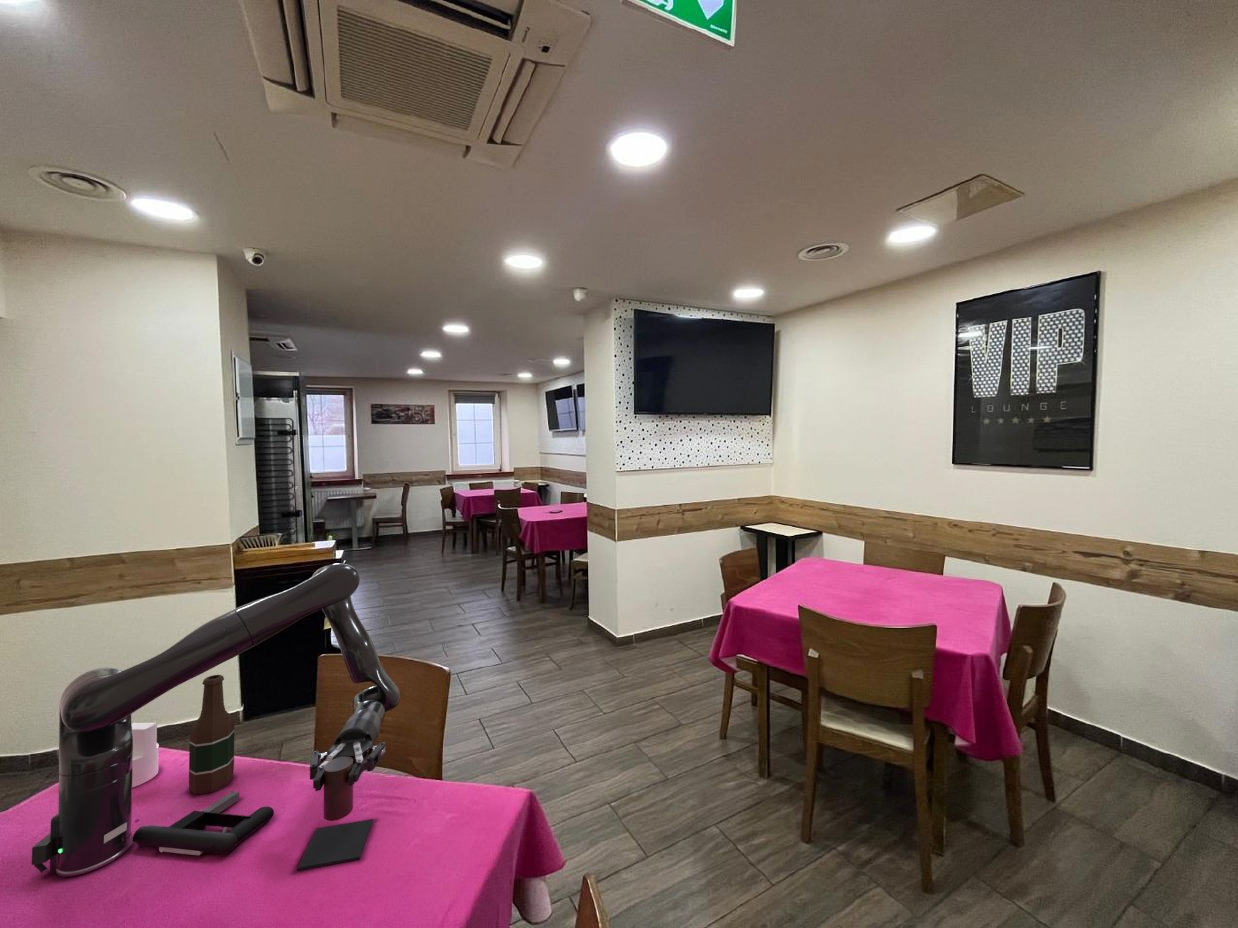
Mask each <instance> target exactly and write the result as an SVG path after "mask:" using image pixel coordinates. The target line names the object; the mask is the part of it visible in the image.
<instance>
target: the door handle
mask: <svg viewBox="0 0 1238 928" xmlns="http://www.w3.org/2000/svg"><path fill="white" fill-rule="evenodd" d="M239 800H240V791H235V790H234V791H233V790H232V791H231V792H229V793H228V794H226V795H224V796H223V797H221V798H220V799H218V800H217V801H215V802H213V803H212V804H210V805H209V806H207V807H206V808H204V809H203V810H193V811H192V812H189V813H188V814H187V815H185V816H184V817H182V818H180V819H179V820H177V821H176V822H174V823H172V824H171V825H169V826H162V825H151V824H150V825H143V826H139V828H137V829H136V831H134V834H133V835H132V845H134V844H136V845H138V846H145V847H155V848H158V852H159V853H163V852H164V853H174V854H181V855H191V856H201V855H202V854H203V853H208V854H209V855H211V854H217V855H218V854H219V855H226V854H228V853H230V852H231V851H233V850H234V849H235V848H236V846H237V845H238V844H239V843H241V842H242V841H243V840H244V839H246V838H247V837H248V836H250V835H251V834H252V833H253V832H255V831H256V830H258V828H259V829H260V827H261V826H263V825H265V823H267V822H268V821H270V820H271V818H273V816H274V815H275V810H274V809H273V808H272V807H271V806H262V807H260V808H257V810H255V811H253V812H252V813H251V814H249V815H242V814H233V813H232V814H231V813H222V812H223V811H225V810H226V809H228V808H230V807H231V806H232V805H234V804H235V803H236V802H239ZM206 826H209V827H219V828H222V831H221V832H220V831H219V832H218V831H211V830H210V831H209V830H203V829H205V828H206ZM229 828H230V829H229ZM228 829H229V830H228Z"/></svg>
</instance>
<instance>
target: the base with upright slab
mask: <svg viewBox="0 0 1238 928" xmlns="http://www.w3.org/2000/svg"><path fill="white" fill-rule="evenodd" d="M132 734H133V766H132V767H133V770H132V789H133V788H135V787H138V786H140V785H143V784H145V783H147V782H148V781H150V780H152V779H153V778H154V777H156V776H157V775H158V773H159V761H160V759H159V757H160V754H159V753H160V745H159V742H157V741H158V722H132Z"/></svg>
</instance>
